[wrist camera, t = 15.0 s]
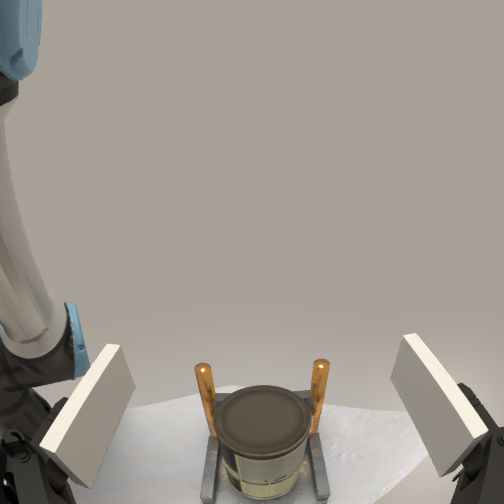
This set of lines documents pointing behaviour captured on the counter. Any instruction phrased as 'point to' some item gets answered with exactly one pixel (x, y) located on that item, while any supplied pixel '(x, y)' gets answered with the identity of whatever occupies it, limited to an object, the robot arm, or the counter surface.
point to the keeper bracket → (313, 467)
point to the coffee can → (262, 439)
